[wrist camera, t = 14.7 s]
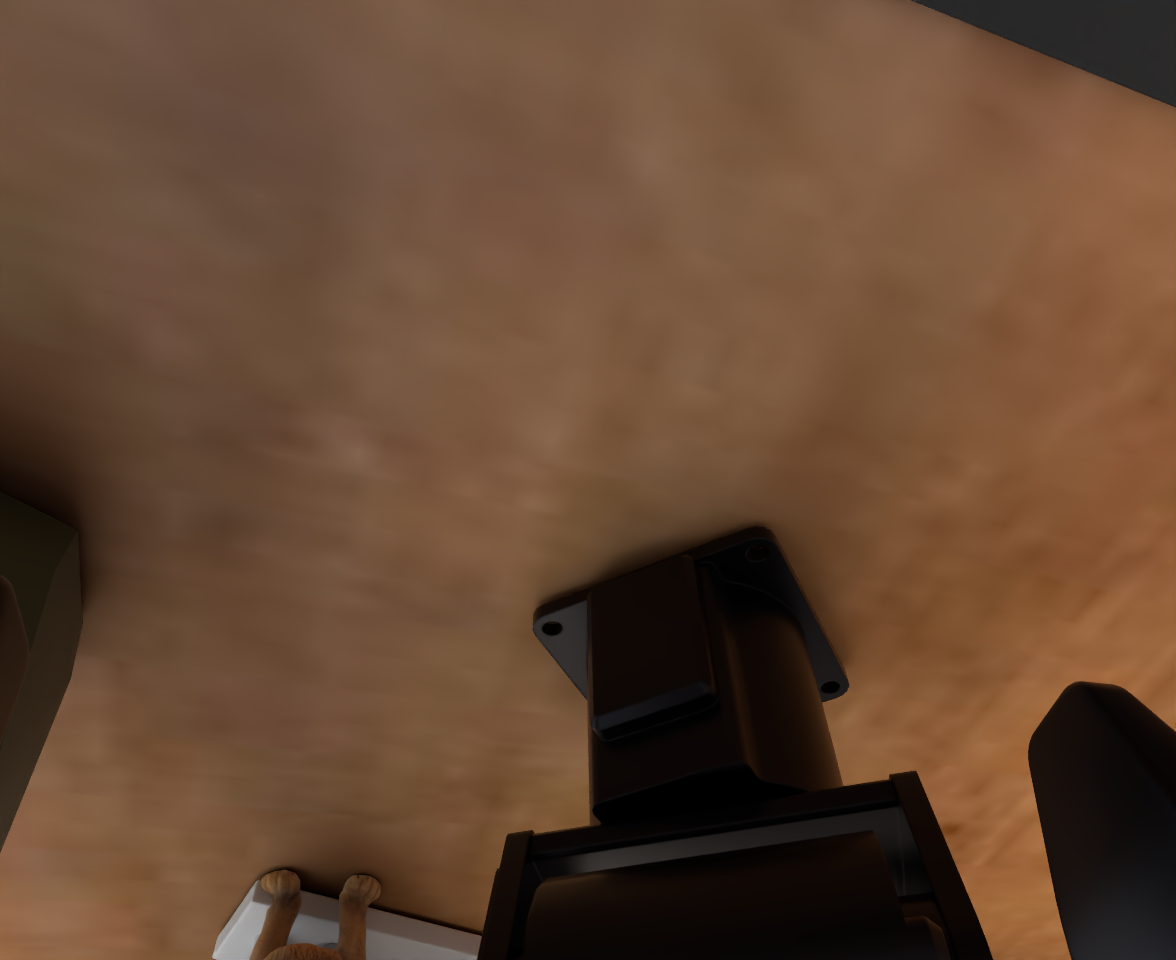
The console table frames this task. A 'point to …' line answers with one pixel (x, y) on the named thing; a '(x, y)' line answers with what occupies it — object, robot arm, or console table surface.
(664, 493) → the console table surface
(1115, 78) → the mat
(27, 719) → the tentacle
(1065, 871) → the robot arm
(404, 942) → the test tube rack
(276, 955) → the lion figurine
